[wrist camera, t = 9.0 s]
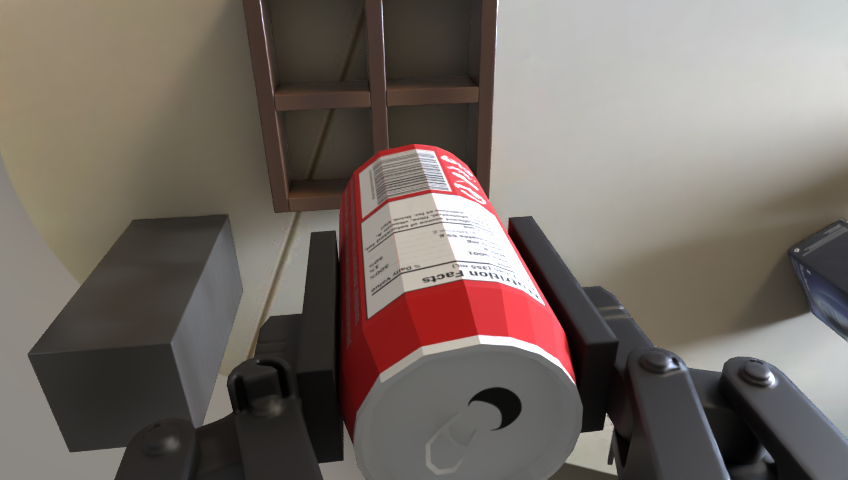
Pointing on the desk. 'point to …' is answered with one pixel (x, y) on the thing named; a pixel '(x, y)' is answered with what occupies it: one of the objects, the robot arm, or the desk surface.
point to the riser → (142, 332)
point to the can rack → (368, 100)
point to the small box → (825, 274)
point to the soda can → (445, 331)
